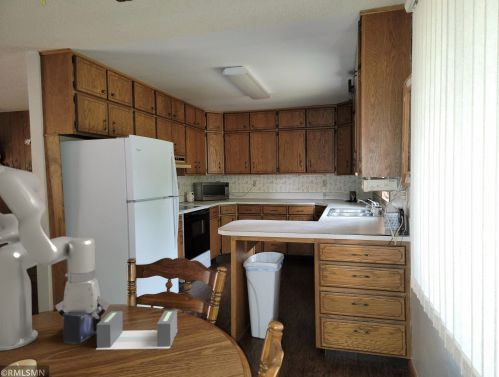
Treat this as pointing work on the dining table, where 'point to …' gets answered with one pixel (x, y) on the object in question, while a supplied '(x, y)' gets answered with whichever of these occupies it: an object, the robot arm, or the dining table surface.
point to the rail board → (136, 340)
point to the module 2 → (166, 328)
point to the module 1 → (109, 329)
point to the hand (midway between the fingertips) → (83, 329)
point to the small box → (78, 327)
